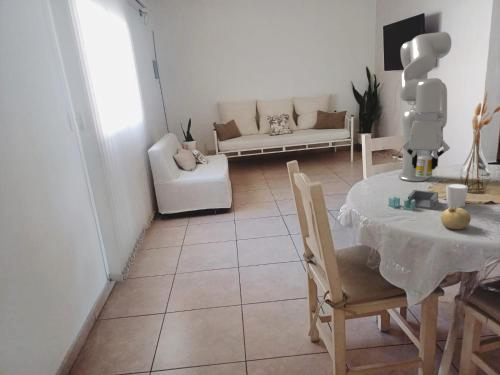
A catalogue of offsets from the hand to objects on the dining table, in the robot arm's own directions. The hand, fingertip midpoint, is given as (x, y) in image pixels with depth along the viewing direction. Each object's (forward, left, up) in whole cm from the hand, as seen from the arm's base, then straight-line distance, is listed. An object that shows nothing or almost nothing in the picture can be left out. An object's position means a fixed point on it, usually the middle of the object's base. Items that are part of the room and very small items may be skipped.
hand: (424, 167), depth 127 cm
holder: (0, 0, -14) cm, 14 cm away
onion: (+17, +13, -14) cm, 26 cm away
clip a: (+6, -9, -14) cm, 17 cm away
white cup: (-4, +10, -14) cm, 18 cm away
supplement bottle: (0, 0, -3) cm, 3 cm away
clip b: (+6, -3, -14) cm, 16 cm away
